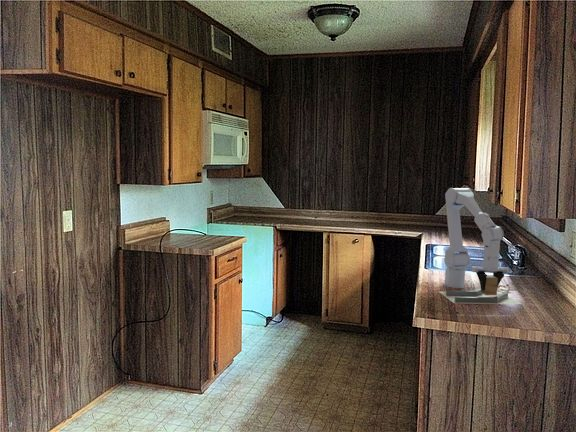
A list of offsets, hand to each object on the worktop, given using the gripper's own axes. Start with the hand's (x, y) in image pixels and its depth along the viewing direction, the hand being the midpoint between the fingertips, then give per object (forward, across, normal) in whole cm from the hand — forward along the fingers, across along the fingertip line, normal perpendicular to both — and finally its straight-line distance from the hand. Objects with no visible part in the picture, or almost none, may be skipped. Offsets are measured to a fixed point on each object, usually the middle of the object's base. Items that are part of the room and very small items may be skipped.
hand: (488, 289), depth 202 cm
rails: (+4, -4, 0) cm, 6 cm away
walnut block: (+2, 0, 0) cm, 2 cm away
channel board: (+4, -4, 0) cm, 6 cm away
